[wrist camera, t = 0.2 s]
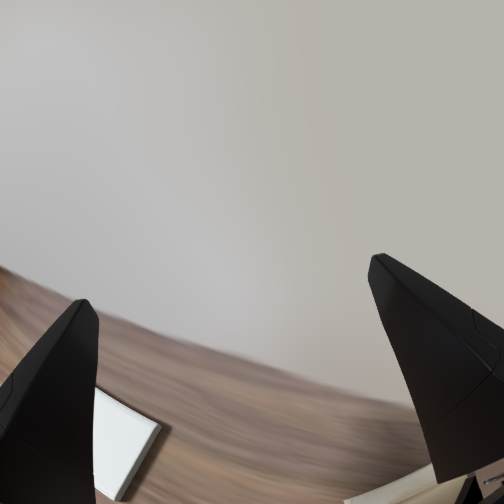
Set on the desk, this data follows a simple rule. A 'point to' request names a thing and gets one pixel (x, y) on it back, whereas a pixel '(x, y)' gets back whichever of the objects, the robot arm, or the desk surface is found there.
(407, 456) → the desk surface
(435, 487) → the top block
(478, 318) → the robot arm
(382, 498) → the base slab
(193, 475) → the desk surface
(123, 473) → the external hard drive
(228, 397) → the desk surface
